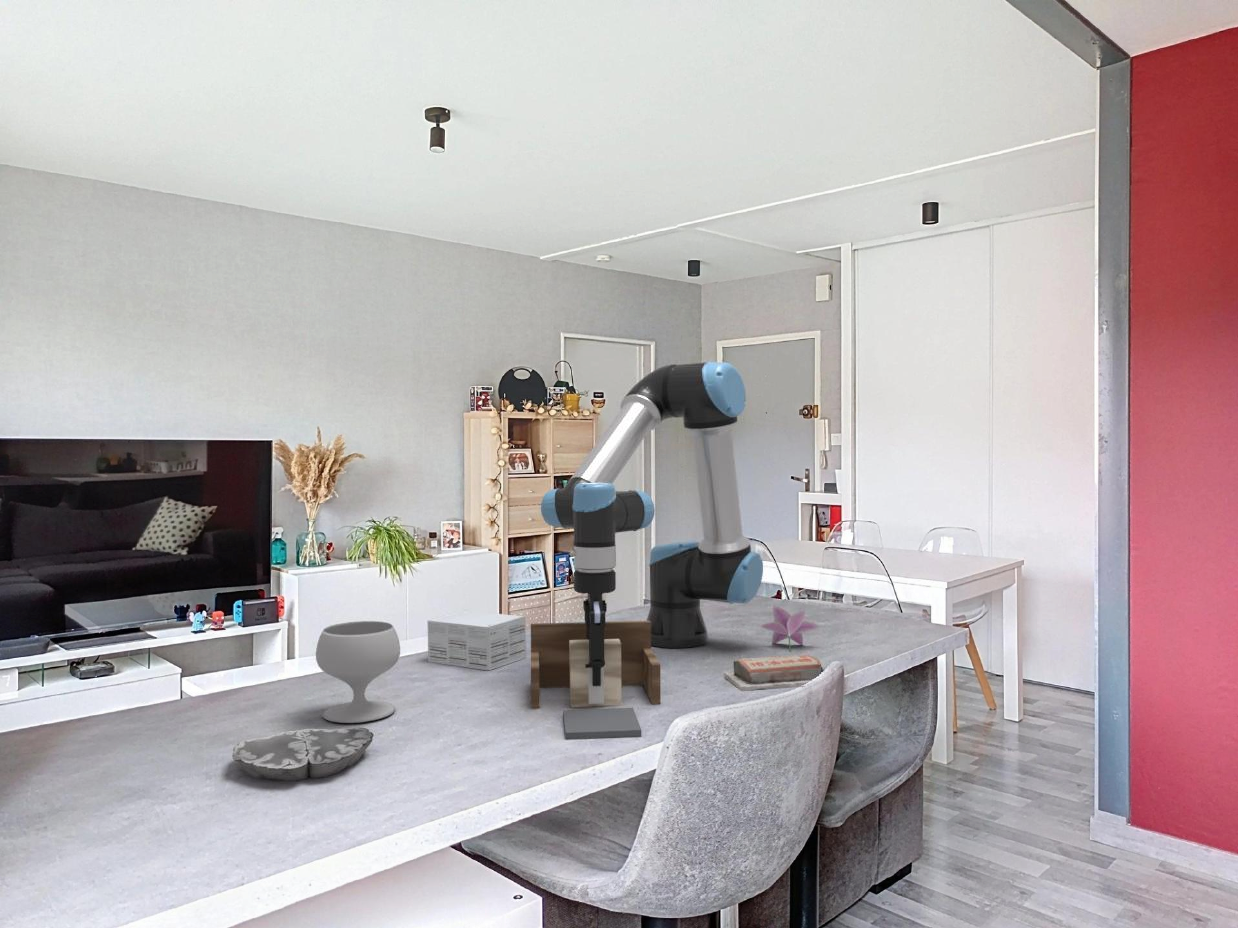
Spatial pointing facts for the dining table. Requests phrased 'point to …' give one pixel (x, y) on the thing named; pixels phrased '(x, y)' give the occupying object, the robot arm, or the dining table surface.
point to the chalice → (358, 665)
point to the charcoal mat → (601, 723)
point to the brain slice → (302, 753)
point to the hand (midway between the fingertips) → (595, 698)
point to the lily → (789, 626)
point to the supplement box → (477, 639)
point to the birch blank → (580, 673)
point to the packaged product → (773, 672)
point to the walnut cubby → (554, 639)
